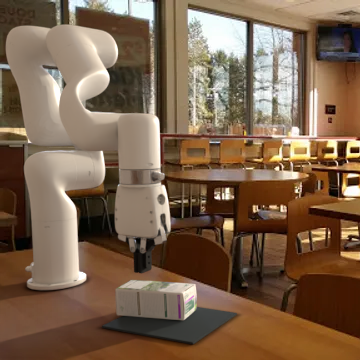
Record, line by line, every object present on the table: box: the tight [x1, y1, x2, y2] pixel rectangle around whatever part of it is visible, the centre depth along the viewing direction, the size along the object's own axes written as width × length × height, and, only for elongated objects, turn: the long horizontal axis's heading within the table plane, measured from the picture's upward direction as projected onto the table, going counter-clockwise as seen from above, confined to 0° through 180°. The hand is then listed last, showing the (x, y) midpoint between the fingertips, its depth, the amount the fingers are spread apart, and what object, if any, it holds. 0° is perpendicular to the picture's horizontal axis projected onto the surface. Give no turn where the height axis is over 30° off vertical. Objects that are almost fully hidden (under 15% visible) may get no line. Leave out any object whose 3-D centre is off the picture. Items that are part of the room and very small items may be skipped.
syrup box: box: [114, 279, 198, 320], centre depth 98 cm, size 6×6×14 cm
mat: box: [101, 306, 238, 345], centre depth 95 cm, size 20×15×1 cm
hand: (142, 271), depth 97 cm, fingers closed
